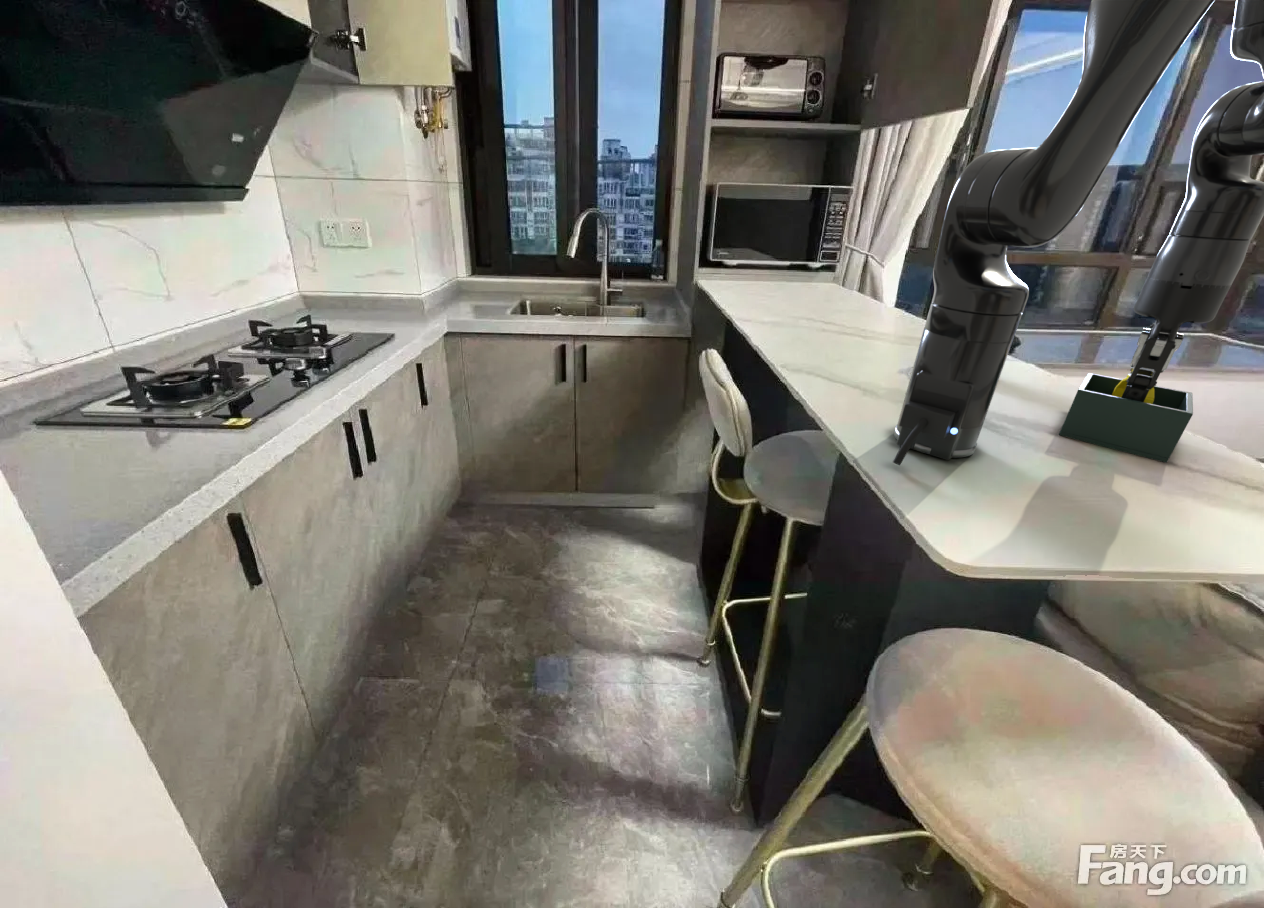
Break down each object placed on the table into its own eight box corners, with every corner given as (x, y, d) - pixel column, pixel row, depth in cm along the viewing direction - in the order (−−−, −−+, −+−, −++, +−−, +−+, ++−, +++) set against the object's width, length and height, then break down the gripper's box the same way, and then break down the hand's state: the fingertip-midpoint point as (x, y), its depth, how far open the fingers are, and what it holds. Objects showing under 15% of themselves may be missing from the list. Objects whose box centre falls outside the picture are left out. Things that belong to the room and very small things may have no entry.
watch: (1147, 428, 70) (1169, 384, 68) (1123, 425, 71) (1144, 382, 68) (1121, 411, 76) (1140, 370, 73) (1098, 409, 76) (1117, 368, 73)
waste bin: (1166, 462, 67) (1193, 413, 64) (1058, 435, 74) (1078, 389, 71) (1168, 437, 75) (1192, 392, 72) (1070, 414, 81) (1088, 372, 78)
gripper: (1151, 269, 72) (1097, 389, 80) (1145, 278, 63) (1086, 413, 70) (1229, 277, 68) (1165, 403, 75) (1236, 288, 58) (1162, 431, 65)
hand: (1127, 407), depth 72 cm, fingers closed on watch, 5 cm apart
